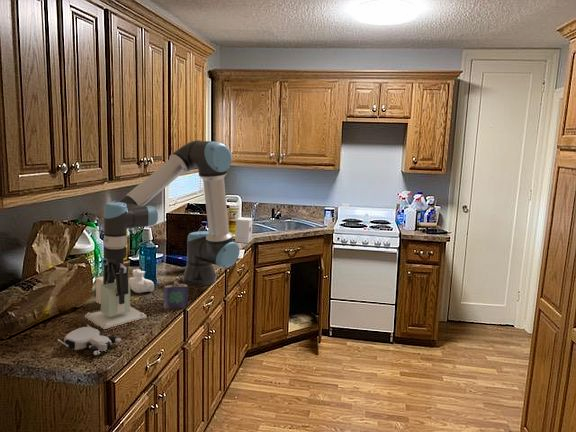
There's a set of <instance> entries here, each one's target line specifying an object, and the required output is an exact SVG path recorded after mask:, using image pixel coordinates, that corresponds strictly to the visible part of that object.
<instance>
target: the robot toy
mask: <svg viewBox="0 0 576 432" xmlns="http://www.w3.org/2000/svg"><path fill="white" fill-rule="evenodd" d="M100 334H101V333H100V330H99V329H96V328H95V327H92V326H90V325H89V324H86V326H83V327H79V328H75V329H74V330H72V331H70V332H68V333H67V334H66V335H65V336H64V339H63V341H62V340H61V339H59V338H58V339H57V342H60V343H61V344H63V345H64V346H65V348H69V349H71V350H73V349H74V351H80V350H83V349H86V348H87V349H89V352H90V354H91V355H94V356H97V355H100V354H101V352H99V351H105V352H107V351H109V350H111V349H110V348H112V344H115V343H120V342H121V341H122V338H120V337H117V336H113V335H111V336H105V335H100ZM106 350H107V351H106Z"/></svg>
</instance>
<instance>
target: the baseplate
mask: <svg viewBox="0 0 576 432" xmlns="http://www.w3.org/2000/svg"><path fill="white" fill-rule="evenodd" d="M84 318H85V319H86V318H87V319H88V320H87V319H86V320H87V321H89V320H90V321H92V322H93V323H95V324H97V325H98V326H100V327H101V328H103V329H106V328H110V327H113V326H117V325H121V324H124V323H127V322H131V321H134V320H139V319H142V318H146V319H147V315H146V314H145V313H144V312H141V311H140V310H138V309H136V308H134V307H133V306H130V312H126V313H122V314H118V315H115V316H111V317H108V316H107V315H105V314H103V313H102V312H101V310H100V311H95V312H87V313H86V314H84ZM142 320H143V319H142ZM90 321H89V322H90ZM139 321H140V320H139ZM92 322H91V323H92ZM93 323H92V324H93ZM95 324H94V325H95ZM98 326H97V327H98ZM101 328H100V329H101Z"/></svg>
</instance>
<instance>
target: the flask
mask: <svg viewBox="0 0 576 432" xmlns="http://www.w3.org/2000/svg"><path fill="white" fill-rule="evenodd" d="M188 295H189V285H188V284H185V283H179V282H178V280H174V281H173V284H170V285H168V284H167V285H164V286H163V303H162V304H163V305H162V306H163V309H164V310H176V309H186V308H188V306H189V305H188V304H189V296H188Z"/></svg>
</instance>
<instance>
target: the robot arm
mask: <svg viewBox="0 0 576 432" xmlns="http://www.w3.org/2000/svg"><path fill="white" fill-rule="evenodd" d="M232 160H233V157H232V152H231V150H230V148H229V147H228V146H227V145H226V144H224V143H222V142H219V141H215V140H214V141H213V140H211V141H209V140H198V139H197V140H192V141H189V142H187V143H185V144H184V145H182V146H181V147H179V148H178V149H176V150H175V151H174V152H173V153H172V154H170V155H169V159H168V160H167V161H165V163H163V164H162V165H160V167H158V168H157V169H156V170H155V171H154V172H153V173H151V174H150V175H148V176H147V177H146V178H145V179H144V180H142V182H140V183H139V184H137V186H135V187H134V188H133V189H132V190H130V191H129V192H128V193H127V194H125V195H124V196H123V197H122V198H121V199H117V200H112V201H110V202H107V203H104V206H103V215H102V217H103V240H102V242H103V246H104V248H103V257H104V259H103V260H102V265H103V273H102V274H103V275H102V276H103V284H108V283H113V282H115V280H116V286H117V293H118V294H116V313H120V312H124V311H125V294H128V293H129V292H128V284H129V283H128V280H129V270H130V269H129V266H125V264H124V263H125V262H124V259H126V258H127V256H128V252H127V251H128V248H127V245H128V230H129V229H136V228H146V227H147V228H148V227H151V226H155V225H156V224H157V222H158V219H159V212H158V210H157V208H156V207H155V206H153V205H146V204H148V203H149V202H150V201H151V200H152V199H153V198H155V197H156V196H157V195H158V194H159V193H161V192H162V191H163V190H164V189H166V187H168V186H170V184H171V183H172V182H173V181H175V180H176V179H177V178H179V176H181V174H183V175H184V174H187V173H188V172H189V171H191V170H193V169H198V176H199V178H201V179H202V181H203V191H204V198H205V199H204V200H205V201H204V202H205V210H206V218H207V228H208V230H207V231H206V230H205V231H204V230H202V231H193V232H189V234H188V235H187V240H186V266H185V269H184V273H183V275H182V283H183V284H184V285H187V286H193V287H203V286H206V287H207V286H211V285H213V284H215V283H216V282H217V275H216V271H215V267H214V265H215V266H217V267H219V268H230V267H233V265H234V264H235V263H236V262H237V260H238V259H239V256H240V253H241V252H240V250H241V249H240V246H239V244H237V243H238V242H235V241H234V235H233V233H232V232H230V229H229V228H230V227H229V219H228V208H227V206H228V205H227V196H226V186H225V177H226V175H227V174H228V170H229V169H230V167H231V164H232Z"/></svg>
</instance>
